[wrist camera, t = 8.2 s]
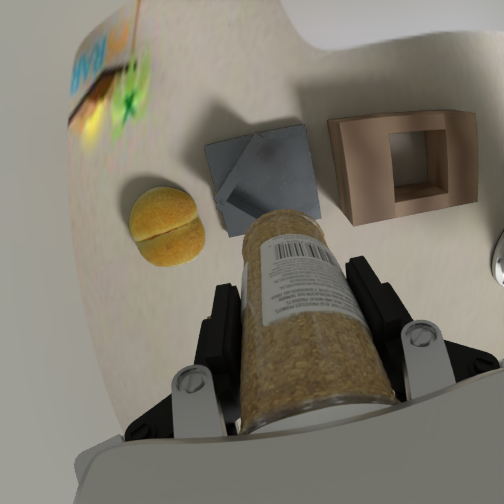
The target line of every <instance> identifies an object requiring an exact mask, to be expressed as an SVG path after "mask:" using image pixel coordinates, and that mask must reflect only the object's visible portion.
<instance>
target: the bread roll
mask: <svg viewBox="0 0 504 504" xmlns="http://www.w3.org/2000/svg"><path fill="white" fill-rule="evenodd" d="M129 230H130V233H131V236H132V237H133V239H134V241H135V243H136V245H137V247H138V249H139V251H140V253H141V255H142V256H143V257H144V258H145V259H146V260H147V261H149V262H150V263H152V264H154V265H155V266H161V267H169V266H171V267H174V266H178V265H182V264H187V263H189V262H192V261H194V260H196V258H197V257H198V254H199V253H200V252H201V250H202V249H203V247H204V244H205V231H204V227H203V225H202V222H201V220H200V219H199V216H198V213H197V207H196V204H195V202H194V200H193V198H192V197H191V196H190V195H188V194H187V193H185V192H183V191H180V190H177V189H174V188H170V187H155V188H152V189H150V190H148V191H147V192H145V193H144V194H142V195H141V196H140V197H139V198H138V199H137V200H136V202H135V203H134V205H133V207H132V209H131V212H130V218H129Z"/></svg>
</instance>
